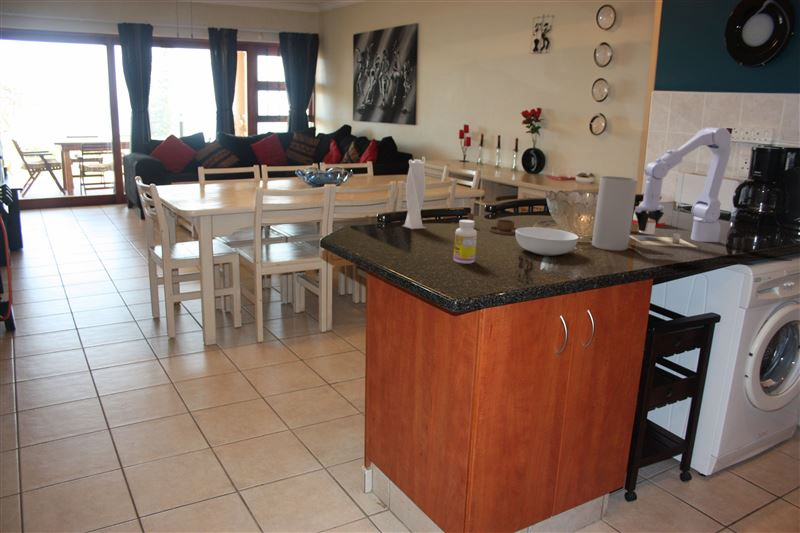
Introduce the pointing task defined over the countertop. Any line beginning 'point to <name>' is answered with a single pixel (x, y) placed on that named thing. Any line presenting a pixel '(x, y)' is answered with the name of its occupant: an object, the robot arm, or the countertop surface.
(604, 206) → the cylinder vase
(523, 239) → the serving bowl
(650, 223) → the brown egg in cup
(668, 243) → the board
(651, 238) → the pad
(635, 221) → the white red spiked dome
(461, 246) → the supplement bottle
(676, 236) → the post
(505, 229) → the place setting
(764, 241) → the countertop surface
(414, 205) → the skyscraper
